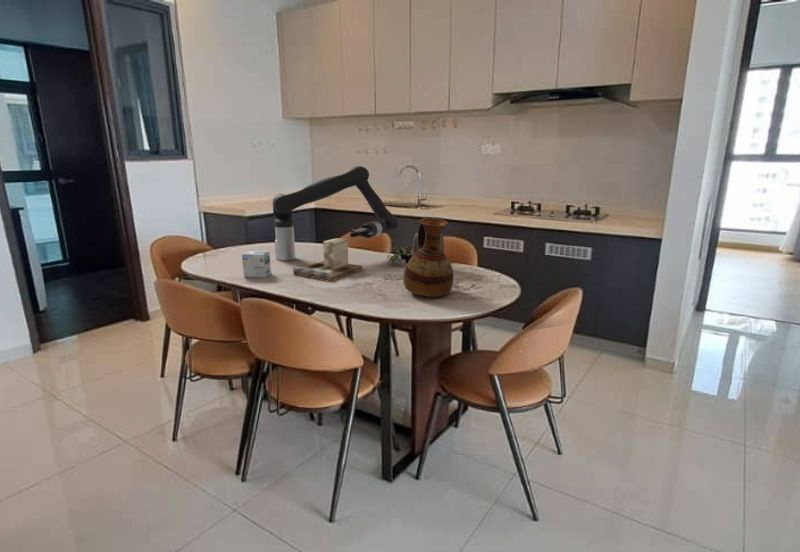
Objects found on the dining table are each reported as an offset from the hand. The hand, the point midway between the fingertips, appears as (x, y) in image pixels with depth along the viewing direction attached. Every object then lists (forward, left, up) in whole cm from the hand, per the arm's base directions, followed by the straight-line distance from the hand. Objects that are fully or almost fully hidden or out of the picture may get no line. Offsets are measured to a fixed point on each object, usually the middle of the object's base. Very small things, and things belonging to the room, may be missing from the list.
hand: (351, 235), depth 228 cm
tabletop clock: (+38, +9, -15) cm, 42 cm away
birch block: (0, -12, -12) cm, 18 cm away
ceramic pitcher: (+55, -22, -15) cm, 61 cm away
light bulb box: (-24, -39, -15) cm, 48 cm away
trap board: (0, -18, -14) cm, 23 cm away
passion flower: (+22, +11, -15) cm, 29 cm away
